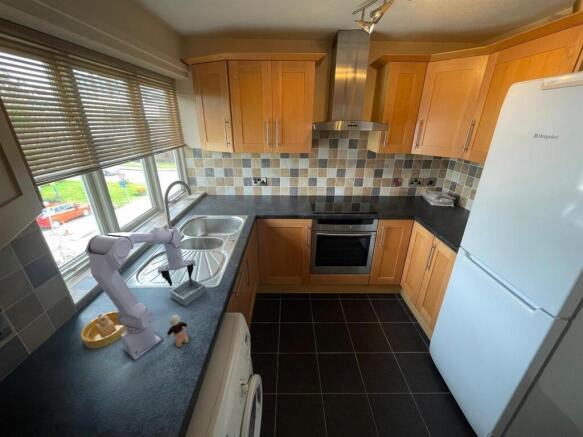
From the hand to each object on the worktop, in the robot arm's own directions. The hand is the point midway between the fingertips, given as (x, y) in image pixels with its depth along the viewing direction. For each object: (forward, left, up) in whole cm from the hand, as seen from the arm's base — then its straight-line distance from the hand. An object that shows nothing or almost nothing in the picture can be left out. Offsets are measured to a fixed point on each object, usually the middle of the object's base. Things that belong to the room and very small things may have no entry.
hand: (180, 282), depth 104 cm
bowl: (-27, +9, -10) cm, 30 cm away
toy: (-27, +9, -9) cm, 30 cm away
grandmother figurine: (-15, -19, -10) cm, 26 cm away
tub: (+3, +1, -10) cm, 10 cm away
